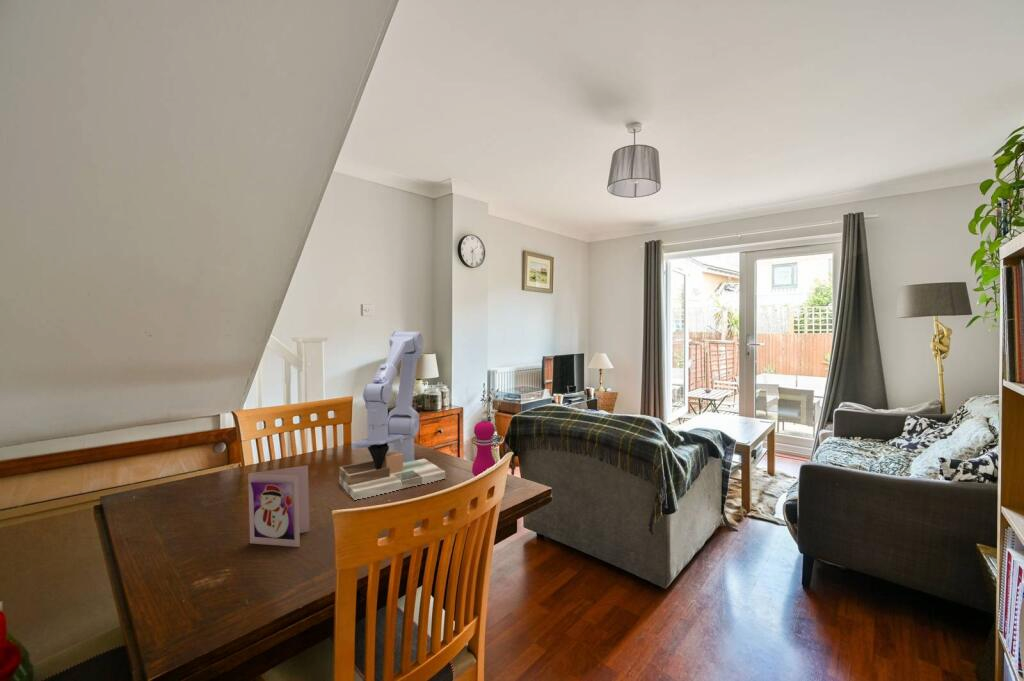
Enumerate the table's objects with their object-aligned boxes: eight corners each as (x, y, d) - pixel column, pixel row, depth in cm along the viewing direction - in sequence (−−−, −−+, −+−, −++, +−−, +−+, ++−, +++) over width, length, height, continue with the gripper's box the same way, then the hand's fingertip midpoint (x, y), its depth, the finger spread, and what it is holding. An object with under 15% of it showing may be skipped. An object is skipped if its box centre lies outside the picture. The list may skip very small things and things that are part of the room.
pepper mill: (498, 480, 128) (498, 413, 127) (495, 489, 121) (495, 418, 120) (474, 479, 128) (474, 413, 128) (469, 488, 121) (469, 418, 120)
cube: (380, 469, 130) (380, 453, 130) (396, 466, 133) (397, 450, 132) (386, 474, 126) (386, 457, 125) (402, 471, 128) (403, 454, 128)
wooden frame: (339, 475, 125) (339, 466, 125) (378, 467, 132) (378, 459, 132) (348, 485, 117) (348, 476, 117) (389, 476, 124) (389, 468, 124)
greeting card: (247, 545, 91) (245, 475, 90) (271, 528, 98) (269, 463, 97) (297, 549, 89) (295, 477, 88) (317, 531, 96) (316, 465, 96)
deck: (339, 483, 125) (339, 475, 125) (424, 466, 140) (424, 458, 140) (354, 501, 113) (354, 491, 113) (445, 479, 128) (445, 471, 128)
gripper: (356, 430, 119) (357, 478, 119) (406, 423, 127) (407, 468, 128) (349, 425, 124) (350, 471, 125) (397, 418, 133) (398, 462, 133)
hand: (378, 469), depth 127 cm, fingers closed
